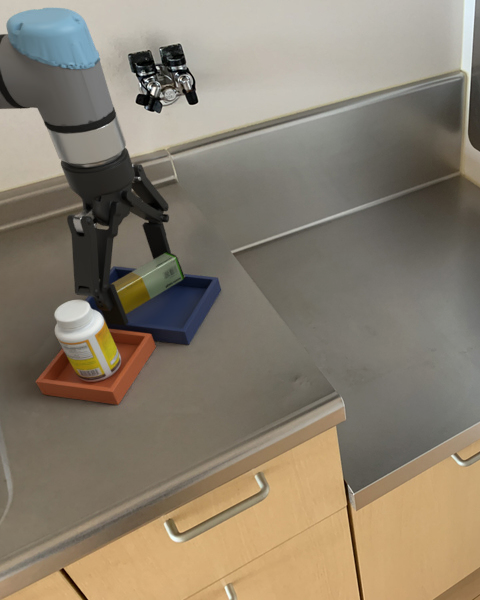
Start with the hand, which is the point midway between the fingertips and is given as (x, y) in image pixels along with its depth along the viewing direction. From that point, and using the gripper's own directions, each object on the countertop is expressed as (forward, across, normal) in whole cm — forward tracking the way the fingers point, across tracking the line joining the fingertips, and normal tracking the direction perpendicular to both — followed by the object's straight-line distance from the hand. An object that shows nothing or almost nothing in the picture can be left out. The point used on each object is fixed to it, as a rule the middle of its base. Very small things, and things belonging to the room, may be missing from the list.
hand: (142, 290), depth 86 cm
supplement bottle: (+4, +12, -1) cm, 13 cm away
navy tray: (+4, 0, 0) cm, 4 cm away
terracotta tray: (+4, +12, -1) cm, 13 cm away
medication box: (+2, 0, 0) cm, 2 cm away
